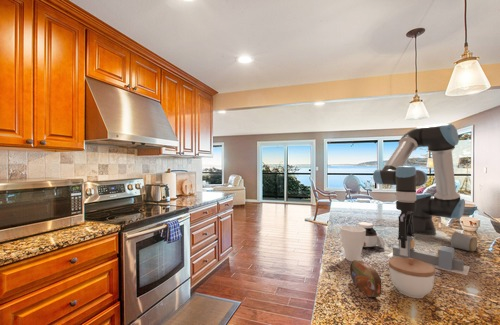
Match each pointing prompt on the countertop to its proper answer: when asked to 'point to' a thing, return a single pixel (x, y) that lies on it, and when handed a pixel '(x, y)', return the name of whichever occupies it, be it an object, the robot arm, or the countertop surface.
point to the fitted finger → (445, 257)
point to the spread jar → (371, 236)
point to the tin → (365, 278)
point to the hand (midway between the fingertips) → (406, 252)
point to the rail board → (433, 260)
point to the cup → (353, 241)
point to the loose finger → (410, 246)
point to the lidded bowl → (411, 276)
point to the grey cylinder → (463, 242)
